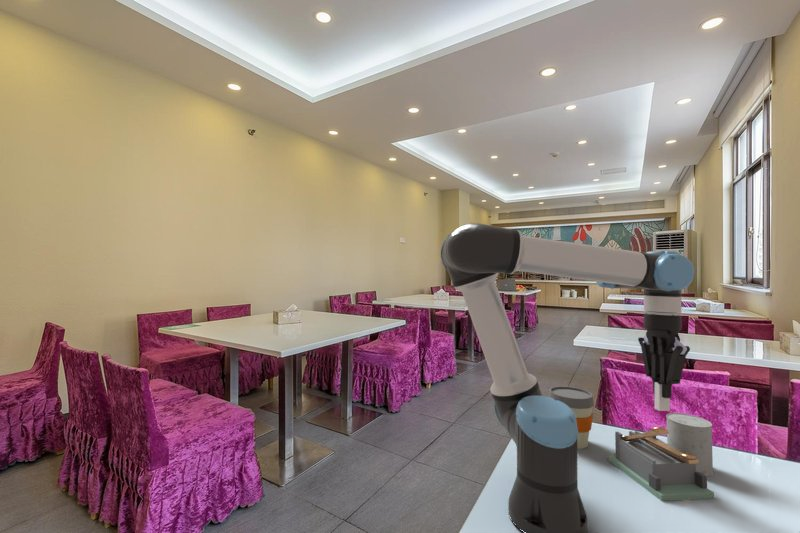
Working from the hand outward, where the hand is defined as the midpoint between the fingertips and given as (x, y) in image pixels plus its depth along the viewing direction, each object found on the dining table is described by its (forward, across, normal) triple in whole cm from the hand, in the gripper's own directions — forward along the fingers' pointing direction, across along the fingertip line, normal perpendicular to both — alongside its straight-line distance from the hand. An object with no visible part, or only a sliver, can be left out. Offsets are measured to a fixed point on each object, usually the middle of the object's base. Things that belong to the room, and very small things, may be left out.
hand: (662, 409), depth 86 cm
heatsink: (+18, +3, -1) cm, 18 cm away
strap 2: (+11, +3, -3) cm, 12 cm away
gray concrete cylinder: (+18, +7, -14) cm, 24 cm away
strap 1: (+8, +3, +2) cm, 9 cm away
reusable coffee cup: (+18, +23, +10) cm, 31 cm away
